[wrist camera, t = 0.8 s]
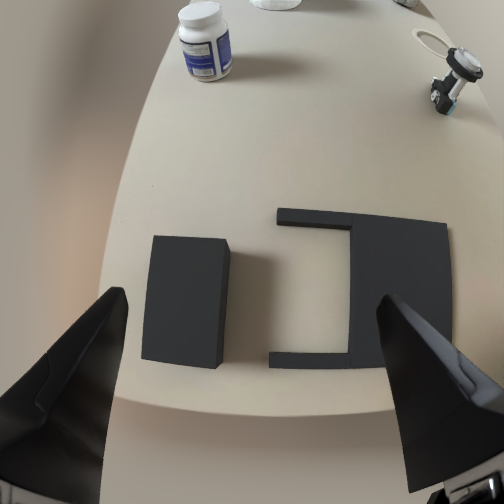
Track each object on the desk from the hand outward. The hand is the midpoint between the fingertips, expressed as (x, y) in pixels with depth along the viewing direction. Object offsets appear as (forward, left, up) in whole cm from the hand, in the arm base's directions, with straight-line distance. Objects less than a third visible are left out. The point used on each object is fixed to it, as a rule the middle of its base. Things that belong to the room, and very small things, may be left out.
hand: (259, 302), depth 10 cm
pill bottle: (+30, +8, -17) cm, 35 cm away
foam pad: (+1, +6, -16) cm, 17 cm away
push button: (+30, -24, -17) cm, 42 cm away
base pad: (+3, -9, -16) cm, 19 cm away
